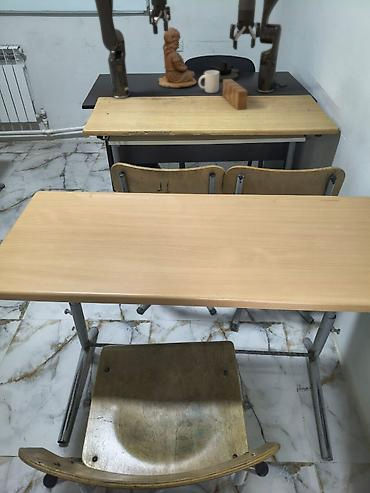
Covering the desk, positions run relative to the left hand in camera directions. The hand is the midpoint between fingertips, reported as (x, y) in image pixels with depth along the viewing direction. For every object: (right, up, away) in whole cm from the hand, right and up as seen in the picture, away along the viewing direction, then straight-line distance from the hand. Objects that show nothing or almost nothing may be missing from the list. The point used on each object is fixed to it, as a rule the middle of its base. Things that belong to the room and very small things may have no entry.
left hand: (161, 32), depth 179 cm
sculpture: (+7, -4, +45) cm, 46 cm away
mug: (+26, -17, +30) cm, 43 cm away
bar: (+39, -29, +15) cm, 50 cm away
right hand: (+40, -13, -9) cm, 43 cm away
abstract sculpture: (+36, +2, +52) cm, 63 cm away
